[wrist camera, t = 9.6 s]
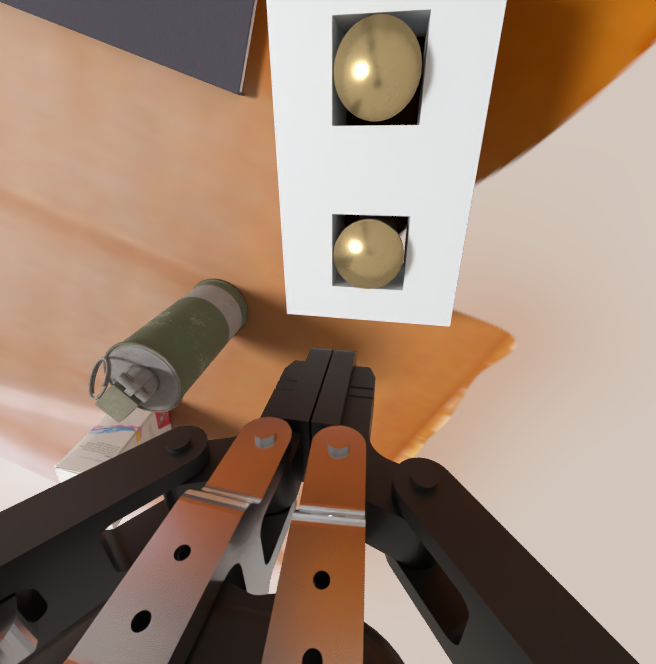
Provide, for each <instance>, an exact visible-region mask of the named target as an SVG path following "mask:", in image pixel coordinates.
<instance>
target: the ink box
mask: <svg viewBox="0 0 656 664" xmlns="http://www.w3.org/2000/svg"><path fill="white" fill-rule="evenodd" d="M171 429H172V428H171V423H170V416H169V411H167V412H150V411H145V410H142V409H140V408H137V407H136V409H135V410H134V411H133V412H132V413H131V414H129V415H128V416H127V417H126V418H125V419H124V420H123V421H121V422H120V423H118V422H117V421H116V420H115V419H113V418H112V417H111V416H109V415H108V414H106V415H105V416H104V417H103V418H102V419H101V420H100V421H99V422H98V423H97V424H96V425H95V426H94V427H93V428H92V430H91V431H90V432H89V433H88V434H87V435H86V436H85V437H84V438H83V439H82V440H81V441H80V442H79V443H78V444H77V445H76V446H75V447H74V448H73V449H72V450H71V451H70V452H69V453H68V454H67V455H66V456H65V457H64V458H63V459H62V460H61V461H60V462H59V463H58V464H57V465H55V466H54V468H55V471H56V473H57V476H58V479H59V482H60V483H61V482H63V481H66V480H68V479H70V478H72V477H74V476H76V475H78V474H80V473H82V472H84V471H86V470H88V469H90V468H92V467H94V466H97V465H99V464H101V463H103V462H105V461H107V460H109V459H111V458H113V457H115V456H117V455H119V454H121V453H123V452H126V451H128V450H130V449H132V448H134V447H136V446H138V445H140V444H142V443H144V442H146V441H148V440H150V439H152V438H155V437H157V436H159V435H161V434H163V433H165V432H167V431H169V430H171ZM121 519H122V518H121ZM121 519H120V520H118V521H116V522H114V523H113V524H111V525H110V526H109V527H108V529H114V528H116V527H117V525H118V524H119V522H120V521H121Z"/></svg>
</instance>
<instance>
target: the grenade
mask: <svg viewBox="0 0 656 664" xmlns="http://www.w3.org/2000/svg"><path fill="white" fill-rule="evenodd" d="M247 317H248V308H247V304H246V301H245V299H244V298H243V296H242V295H241V293H240V292H239V291H238V290H237V289H236V288H235V287H234V286H232V285H231V284H229V283H227V282H225V281H223V280H219V279H207V280H204V281H201V282H200V283H198V284H197V285H196V286H195V287H194V288H193V290H192V291H190V292H189V293H188V294H186V295H185V296H184V297H182V298H181V299H180V300H178V301H177V302H176V303H174V304H173V305H172V306H170V307H169V308H167V309H166V310H165V311H163V312H162V313H161V314H159V315H158V316H157V317H155V318H154V319H153V320H151V321H150V322H149V323H147V324H146V325H145V326H143V327H142V328H141V329H139V330H138V331H136V332H135V333H134V334H132V335H131V336H130V337H128V338H127V339H126V340H124V341H123V342H120V343H118V344H116V345H114V346H112V347H111V348H110V349H109V350H108V351H107V353H106V355H105V357H101V358H99V359H98V360H97V362H96V363H95V365H94V367H93V369H92V372H91V375H90V380H89V395H90V397H91V399H93V400H97V399H99V400H98V401H97V402H96V403H95V405H97V406H98V407H99V408H101V409H102V410H103V411H104V412H106V413H107V414H108V415H109V416H111V417H112V418H113V419H115V420H116V421H117V422H118V423H120V422H121V421H123V420H124V419H125V418H126V417H127V416H128V415H129V414H131V413H132V412H133V411H134V410H135V409H136V407H137V408H140V409H142V410H145V411H150V412H167V411H170V410H172V409H174V408H175V407H176V406H178V405H179V403H180V402H181V400H182V399H183V396H184V394H185V393H186V392H187V391H188V389H189V388H190V387H191V386H192V385H193V383H194V382H195V381H196V380H197V379H198V377H199V376H200V375H201V374H202V373H203V371H204V370H205V369H206V368H207V367H208V366H209V364H210V363H211V362H212V361H213V360H214V358H215V357H216V356H217V355H218V354H219V352H220V351H221V350H222V349H223V348H224V346H225V345H226V344H227V343H228V342H229V340H230V339H231V338H232V337H233V336H234V335H235V333H236V332H238V331H239V330H240V329H242V328H243V326H244V325H245V323H246V321H247ZM103 361H104V363H103V365H104V372H105V378H104V381H103V385H102V386H104V388H103V390H102V392H101V393H100V394H99V395H98V396H97V397H93V395H92V394H94V383H95V377H96V374H97V371H98V368H99V366H100V364H101V363H102V362H103ZM96 366H97V367H96ZM95 368H96V369H95ZM93 374H94V375H93ZM92 378H93V379H92ZM108 383H110V385H111V387H110V388H109V389H108V390H107V391H106V392H105V390H106V388H107V386H108ZM104 392H105V393H104ZM103 393H104V394H103Z"/></svg>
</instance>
